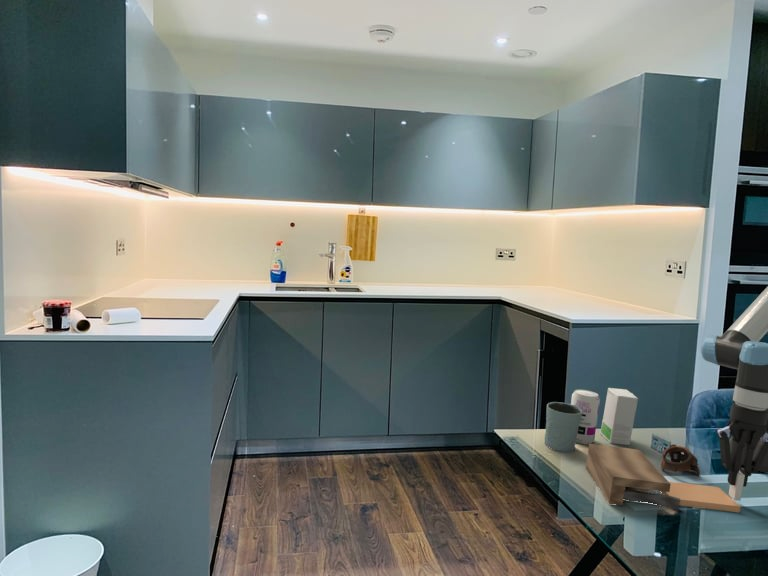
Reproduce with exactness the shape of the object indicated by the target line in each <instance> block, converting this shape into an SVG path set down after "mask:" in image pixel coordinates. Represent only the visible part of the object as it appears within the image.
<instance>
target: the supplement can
mask: <svg viewBox="0 0 768 576" xmlns="http://www.w3.org/2000/svg"><path fill="white" fill-rule="evenodd" d="M600 402H601V399H600V397H599V394H598V393H597V392H594V391H591V390H588V389H575V390H574V391H573V393H572V394H571V400H570V404H571V405H574V406H577V407H579V408H580V409H581V410H582V416H581V420H580V424H579V428H578V433H577V437H576V443H577V444H581V445H589V444H593V442H595V438H596V437H595V436H596V430H597V425H598V424H597V423H598V418H599V417H598V415H599V409H600ZM576 443H575V444H576Z"/></svg>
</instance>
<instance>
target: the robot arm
mask: <svg viewBox="0 0 768 576" xmlns="http://www.w3.org/2000/svg"><path fill="white" fill-rule="evenodd" d="M767 333H768V286H766V288H765V289H764V290H763V291H762V292H761V293H760V294H759V295H758V296H757V297H756V299H755V300H754V301H752V303H751V304H750V305H749V306H748V307H747V308H746V309H745V310H744V311H743V312H742V313H741V314H740V316H739V317H738V318H737V319H736V320H735V321H734V322H733V323H732V324H731V326H729V328H728V329H727V330H726V331H725V332H724V333H723V334H721V335H714V334H713V335H709V336H706V337H705V338H704V340H703V341H702V342H701V343H702V344H701V347H700V354H701V357H702V358H703V360H704V361H705V362H709V363H710V364H711V363H712V364H714V365H716V366H723V367H726V368H729V369H733V370H737V374H736V378H735V379H736V380H735V383H734V384H735V385H734V390H733V396H732V401H734V402H732V403H731V407H730V412H729V413H730V414H729V421H728V422H727V423H726V426H725V427H723V428H720V427H717V428H716V429H715V432H716V435H717V436H718V438H719V439H718V440H719V450H720V452H719V453H720V460H721V461H720V462H721V465H722V466H723V468H725V469H726V470H728V475H727V483H728V484H729V488H728V489H729V490H728V494H727V495H728V496H729V497H730V498H731V499H733V500H734V501H741V499H742V494H743V489H744V487H747V485H748V478H749V477H751V476H752V475H753V474H757V473H761V472H768V343H767V342H761V339H762V338H764V336H765V335H766V334H767ZM730 435H731V437H730ZM758 471H760V472H758Z"/></svg>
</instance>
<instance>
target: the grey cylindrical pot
mask: <svg viewBox="0 0 768 576" xmlns="http://www.w3.org/2000/svg"><path fill="white" fill-rule="evenodd" d="M545 413H546V415H545V416H546V417H545V419H546V422H545V432H544V445H545V446H546V447H547V446H548V447H547V448H549V447H550V448H549V449H551V448H552V449H551V450H553V449H555V450H554V451H556V450H557V452H561V453H570V452H573V451H574V450H575V447H576V437H577V433H578V428H579V424H580V420H581V416H582V410H581V409H580V408H579V407H577V406H574V405H571V403H566V402H558V401H551V402H548V403H547V404H546V412H545Z"/></svg>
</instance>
